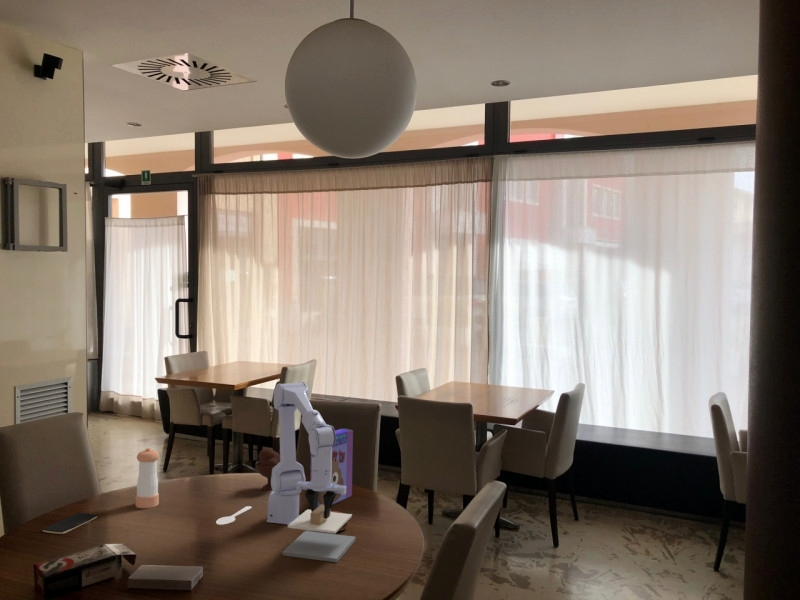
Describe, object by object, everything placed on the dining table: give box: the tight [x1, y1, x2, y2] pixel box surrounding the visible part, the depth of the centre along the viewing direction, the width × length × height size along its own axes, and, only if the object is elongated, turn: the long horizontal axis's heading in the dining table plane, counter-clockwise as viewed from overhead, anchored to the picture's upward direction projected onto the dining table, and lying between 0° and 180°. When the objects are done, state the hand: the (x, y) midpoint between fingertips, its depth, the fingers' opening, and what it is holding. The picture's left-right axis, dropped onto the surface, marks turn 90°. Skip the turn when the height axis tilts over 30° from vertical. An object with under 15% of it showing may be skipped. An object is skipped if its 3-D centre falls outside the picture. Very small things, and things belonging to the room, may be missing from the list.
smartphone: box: [42, 512, 98, 535], centre depth 192 cm, size 7×1×15 cm
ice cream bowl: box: [254, 447, 280, 492], centre depth 231 cm, size 11×11×15 cm
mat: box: [282, 530, 357, 563], centre depth 178 cm, size 16×16×1 cm
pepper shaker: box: [135, 447, 160, 509], centre depth 211 cm, size 7×7×19 cm
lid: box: [287, 504, 353, 534], centre depth 178 cm, size 14×14×4 cm
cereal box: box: [309, 428, 354, 507], centre depth 217 cm, size 17×5×24 cm, turn 148°
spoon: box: [215, 505, 253, 526], centre depth 202 cm, size 5×18×1 cm, turn 161°
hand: (320, 516), depth 178 cm, fingers closed on lid, 3 cm apart
